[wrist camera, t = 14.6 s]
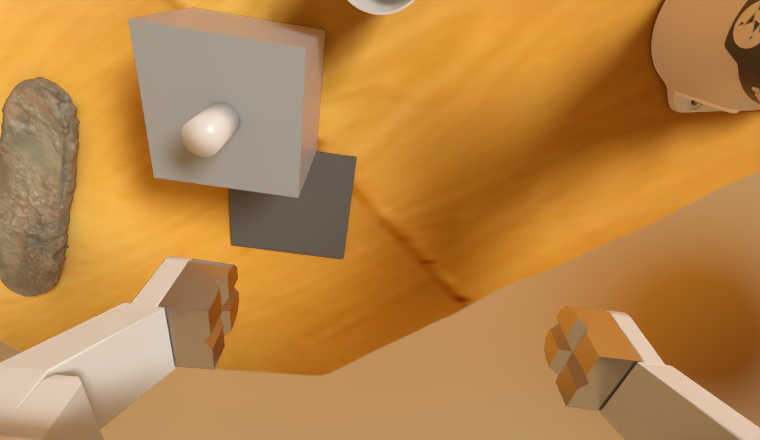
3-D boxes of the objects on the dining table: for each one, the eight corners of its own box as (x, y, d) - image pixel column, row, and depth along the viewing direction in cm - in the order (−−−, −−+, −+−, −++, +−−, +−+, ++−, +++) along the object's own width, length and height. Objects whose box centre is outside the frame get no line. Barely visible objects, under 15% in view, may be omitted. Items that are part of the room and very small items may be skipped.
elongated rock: (109, 99, 48) (22, 57, 46) (78, 108, 43) (-20, 62, 41) (67, 298, 63) (0, 272, 61) (41, 321, 58) (-32, 294, 56)
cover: (325, 29, 42) (293, 59, 27) (316, 150, 49) (287, 225, 35) (193, 7, 41) (86, 26, 27) (203, 133, 48) (124, 203, 34)
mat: (356, 157, 50) (356, 158, 49) (343, 257, 58) (343, 259, 58) (227, 138, 49) (226, 139, 48) (232, 243, 57) (231, 245, 57)
